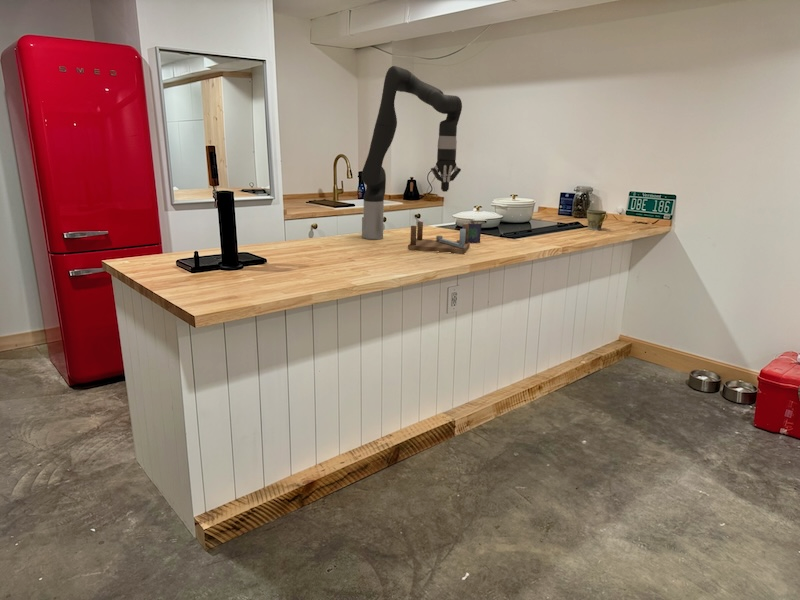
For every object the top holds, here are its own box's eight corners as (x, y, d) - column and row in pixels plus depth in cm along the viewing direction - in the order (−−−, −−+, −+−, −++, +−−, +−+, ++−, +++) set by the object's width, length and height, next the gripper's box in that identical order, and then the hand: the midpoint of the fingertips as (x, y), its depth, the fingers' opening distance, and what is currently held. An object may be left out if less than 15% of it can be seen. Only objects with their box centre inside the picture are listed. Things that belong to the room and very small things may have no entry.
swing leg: (435, 240, 247) (435, 223, 245) (439, 240, 249) (440, 222, 246) (461, 248, 232) (462, 229, 230) (466, 247, 234) (467, 229, 231)
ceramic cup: (580, 228, 305) (582, 210, 302) (594, 227, 309) (596, 209, 306) (597, 232, 293) (600, 213, 290) (612, 231, 297) (614, 212, 295)
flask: (462, 243, 255) (464, 220, 252) (460, 242, 257) (461, 219, 254) (481, 242, 258) (482, 219, 255) (478, 241, 260) (479, 218, 257)
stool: (407, 249, 238) (408, 226, 235) (416, 243, 253) (417, 221, 250) (464, 254, 232) (465, 230, 229) (469, 247, 247) (470, 224, 244)
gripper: (435, 147, 221) (433, 192, 226) (465, 148, 225) (463, 192, 230) (428, 147, 227) (426, 190, 232) (458, 147, 232) (455, 190, 237)
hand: (444, 191), depth 231 cm, fingers closed
